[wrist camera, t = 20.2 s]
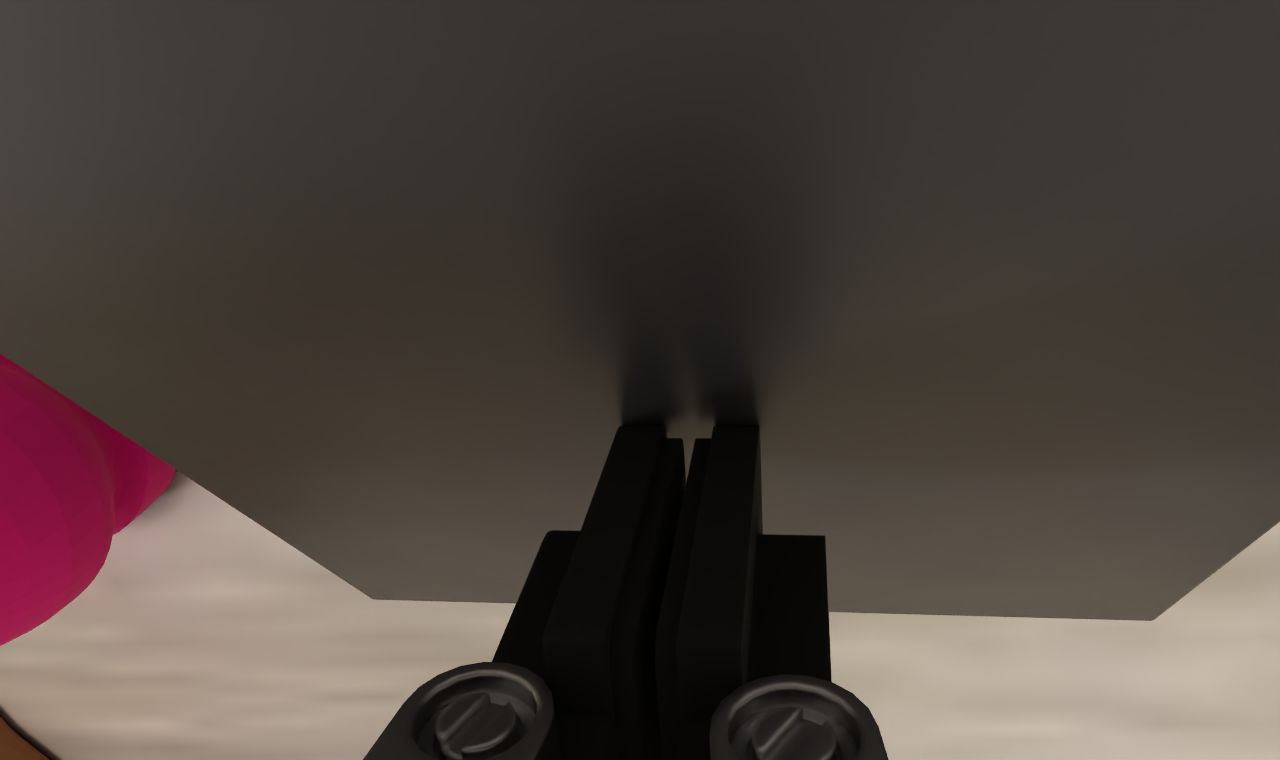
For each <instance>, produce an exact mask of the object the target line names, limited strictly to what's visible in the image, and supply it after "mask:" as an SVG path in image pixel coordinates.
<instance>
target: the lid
mask: <svg viewBox="0 0 1280 760" xmlns="http://www.w3.org/2000/svg"><path fill="white" fill-rule="evenodd" d="M0 354H2V355H3V356H5V357H6V358H8V359H9V360H11V361H13V362H14V363H16V364H17V365H19V366H20V367H22V368H23V369H25V370H26V371H28V372H29V373H31V374H32V375H34V376H35V377H37V378H38V379H40V380H41V381H43V382H44V383H46V384H47V385H49V386H50V387H52V388H53V389H55V390H56V391H58V392H60V393H61V394H63V395H64V396H66V397H67V398H69V399H70V400H72V401H73V402H75V403H76V404H78V405H79V406H81V407H82V408H84V409H85V410H87V411H88V412H90V413H91V414H93V415H94V416H96V417H97V418H99V419H100V420H102V421H103V422H105V423H107V424H108V425H110V426H111V427H113V428H114V429H116V430H117V431H119V432H120V433H122V434H123V435H125V436H126V437H128V438H129V439H131V440H132V441H134V442H135V443H137V444H138V445H140V446H141V447H143V448H144V449H146V450H147V451H149V452H150V453H152V454H154V455H155V456H157V457H158V458H160V459H161V460H163V461H164V462H166V463H167V464H169V465H170V466H172V467H173V468H175V469H176V470H178V471H179V472H181V473H182V474H184V475H185V476H187V477H188V478H190V479H191V480H193V481H194V482H196V483H197V484H199V485H201V486H202V487H204V488H205V489H207V490H208V491H210V492H211V493H213V494H214V495H216V496H217V497H219V498H220V499H222V500H223V501H225V502H226V503H228V504H229V505H231V506H232V507H234V508H235V509H237V510H238V511H240V512H241V513H243V514H244V515H246V516H247V517H249V518H251V519H252V520H254V521H255V522H257V523H258V524H260V525H261V526H263V527H264V528H266V529H267V530H269V531H270V532H272V533H273V534H275V535H276V536H278V537H279V538H281V539H282V540H284V541H285V542H287V543H288V544H290V545H291V546H293V547H294V548H296V549H298V550H299V551H301V552H302V553H304V554H305V555H307V556H308V557H310V558H311V559H313V560H314V561H316V562H317V563H319V564H320V565H322V566H323V567H325V568H326V569H328V570H329V571H331V572H332V573H334V574H335V575H337V576H338V577H340V578H341V579H343V580H345V581H346V582H348V583H349V584H351V585H352V586H354V587H355V588H357V589H358V590H360V591H361V592H363V593H364V594H366V595H367V596H369V597H370V598H372V599H378V600H414V601H451V602H487V603H517V601H518V598H519V596H520V593H521V591H522V589H523V586H524V584H525V581H526V579H527V577H528V574H529V572H530V570H531V567H532V565H533V562H534V560H535V558H536V555H537V553H538V550H539V548H540V546H541V543H542V541H543V539H544V537H545V535H546V534H547V532H549V531H551V530H570V531H581V528H582V525H583V523H584V520H585V517H586V514H587V511H588V509H589V506H590V503H591V500H592V498H593V495H594V492H595V489H596V487H597V484H598V481H599V478H600V476H601V473H602V470H603V467H604V465H605V462H606V459H607V456H608V454H609V451H610V448H611V445H612V443H613V440H614V437H615V434H616V432H617V429H618V427H619V426H665V428H666V432H667V438H682V439H683V444H684V455H685V472H686V482H687V477H688V472H689V467H690V462H691V457H692V452H693V447H694V442H695V439H696V438H711V436H712V430H713V427H714V426H759V427H760V442H761V480H762V520H763V534H777V535H825V541H826V564H827V588H828V612H852V613H889V614H925V615H962V616H998V617H1035V618H1072V619H1108V620H1145V621H1151V620H1154V619H1155V618H1157V617H1158V616H1159V615H1161V614H1162V613H1163V612H1164V611H1166V610H1167V609H1168V608H1170V607H1171V606H1172V605H1173V604H1175V603H1176V602H1177V601H1179V600H1180V599H1181V598H1182V597H1184V596H1185V595H1186V594H1188V593H1189V592H1190V591H1191V590H1193V589H1194V588H1195V587H1196V586H1198V585H1199V584H1200V583H1202V582H1203V581H1204V580H1205V579H1207V578H1208V577H1209V576H1211V575H1212V574H1213V573H1214V572H1216V571H1217V570H1218V569H1220V568H1221V567H1222V566H1223V565H1225V564H1226V563H1227V562H1229V561H1230V560H1231V559H1232V558H1234V557H1235V556H1236V555H1237V554H1239V553H1240V552H1241V551H1243V550H1244V549H1245V548H1246V547H1248V546H1249V545H1250V544H1252V543H1253V542H1254V541H1255V540H1257V539H1258V538H1259V537H1261V536H1262V535H1263V534H1264V533H1266V532H1267V531H1268V530H1270V529H1271V528H1272V527H1273V526H1275V525H1276V524H1277V523H1278V522H1280V0H0Z"/></svg>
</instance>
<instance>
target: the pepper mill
mask: <svg viewBox="0 0 1280 760" xmlns="http://www.w3.org/2000/svg"><path fill="white" fill-rule="evenodd" d="M175 471H176V469H175V468H173V467H172V466H170V465H169V464H167V463H166V462H164V461H163V460H161V459H160V458H158V457H157V456H155V455H154V454H152V453H150V452H149V451H147V450H146V449H144V448H143V447H141V446H140V445H138V444H137V443H135V442H134V441H132V440H131V439H129V438H128V437H126V436H125V435H123V434H122V433H120V432H119V431H117V430H116V429H114V428H113V427H111V426H110V425H108V424H107V423H105V422H103V421H102V420H100V419H99V418H97V417H96V416H94V415H93V414H91V413H90V412H88V411H87V410H85V409H84V408H82V407H81V406H79V405H78V404H76V403H75V402H73V401H72V400H70V399H69V398H67V397H66V396H64V395H63V394H61V393H60V392H58V391H56V390H55V389H53V388H52V387H50V386H49V385H47V384H46V383H44V382H43V381H41V380H40V379H38V378H37V377H35V376H34V375H32V374H31V373H29V372H28V371H26V370H25V369H23V368H22V367H20V366H19V365H17V364H16V363H14V362H13V361H11V360H9V359H8V358H6V357H5V356H3V355H2V354H0V646H1V645H3V644H5V643H7V642H9V641H11V640H13V639H15V638H17V637H19V636H21V635H23V634H25V633H27V632H29V631H31V630H32V629H34V628H35V627H37V626H39V625H40V624H42V623H43V622H45V621H47V620H48V619H50V618H51V617H52V616H53V615H55V614H56V613H57V612H58V611H60V610H61V609H62V608H64V607H65V606H66V605H67V604H69V603H70V602H71V601H72V600H74V599H75V598H76V597H77V596H78V595H79V594H81V593H82V592H83V591H84V590H85V589H86V588H87V587H88V586H89V585H90V583H91V582H92V581H93V580H94V578H95V577H96V575H97V574H98V572H99V571H100V569H101V568H102V566H103V565H104V562H105V560H106V557H107V554H108V552H109V549H110V545H111V540H112V535H114V534H116V533H118V532H119V531H120V530H122V529H123V528H124V527H126V526H127V525H128V524H129V523H130V522H132V521H133V520H134V519H135V518H136V517H137V516H138V515H140V514H141V513H142V512H143V511H144V510H145V509H146V508H147V507H149V506H150V505H151V504H152V503H153V502H154V501H155V500H156V499H158V498H159V496H160V495H161V494H162V493H163V492H164V491H165V490H166V489H167V487H168V486H169V484H170V482H171V480H172V478H173V476H174V474H175Z"/></svg>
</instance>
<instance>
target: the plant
mask: <svg viewBox="0 0 1280 760" xmlns="http://www.w3.org/2000/svg"><path fill="white" fill-rule="evenodd" d="M0 760H49V759H48V758H47V757H46V756H44V755H43V754H42V753H40V752H39V751H38V750H37V749H35V748H34V747H33V746H31V745H30V744H29V743H28V742H26V741H25V740H24V739H23V738H21V737H20V736H19V735H18V734H17V733H16V732H14V731H13V730H12V729H11V728H10V727H9V726H8V725H7V724H6V723H5V722H4V721H3V720H2V718H1V717H0Z"/></svg>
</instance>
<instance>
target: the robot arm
mask: <svg viewBox="0 0 1280 760" xmlns="http://www.w3.org/2000/svg"><path fill="white" fill-rule="evenodd" d="M363 760H888V757H887V753H886V750H885V747H884V744H883V740H882V737H881V734H880V731H879V727H878V725H877V723H876V721H875V719H874V718H873V716H872V714H871V712H870V710H869V708H868V707H867V706H865V705H864V704H863V703H862V702H861V701H860V700H859V699H858V698H857V697H856V696H855V695H854V694H853V693H851V692H849V691H847V690H845V689H844V688H842V687H840V686H838V685H836V684H834V683H832V682H831V660H830V636H829V612H828V588H827V564H826V541H825V535H777V534H763V520H762V480H761V442H760V427H759V426H714V427H713V430H712V436H711V438H696V439H695V442H694V447H693V452H692V457H691V462H690V467H689V472H688V477H687V482H686V472H685V455H684V444H683V439H682V438H667V432H666V428H665V426H619V427H618V429H617V432H616V434H615V437H614V440H613V443H612V445H611V448H610V451H609V454H608V456H607V459H606V462H605V465H604V467H603V470H602V473H601V476H600V478H599V481H598V484H597V487H596V489H595V492H594V495H593V498H592V500H591V503H590V506H589V509H588V511H587V514H586V517H585V520H584V523H583V525H582V528H581V531H570V530H551V531H549V532H547V534H546V535H545V537H544V539H543V541H542V543H541V546H540V548H539V550H538V553H537V555H536V558H535V560H534V562H533V565H532V567H531V570H530V572H529V574H528V577H527V579H526V581H525V584H524V586H523V589H522V591H521V593H520V596H519V598H518V601H517V603H516V605H515V608H514V610H513V613H512V615H511V617H510V620H509V622H508V624H507V627H506V629H505V632H504V634H503V636H502V639H501V641H500V644H499V646H498V648H497V651H496V653H495V656H494V658H493V660H492V662H482V663H476V664H470V665H464V666H460V667H457V668H455V669H452V670H450V671H447V672H444V673H442V674H439V675H437V676H436V677H434V678H433V679H431V680H430V681H428V682H426V683H425V684H423V685H422V686H420V687H419V688H418V689H417V690H416V691H415V692H414V693H413V694H412V695H411V696H410V697H409V698H408V699H407V700H406V701H405V702H404V703H403V705H402V706H401V708H400V709H399V710H398V712H397V713H396V715H395V716H394V717H393V719H392V720H391V722H390V723H389V724H388V726H387V727H386V729H385V730H384V731H383V733H382V734H381V735H380V737H379V738H378V740H377V741H376V742H375V744H374V745H373V747H372V748H371V749H370V751H369V752H368V754H367V755H366V756H365V758H364V759H363Z"/></svg>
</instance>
